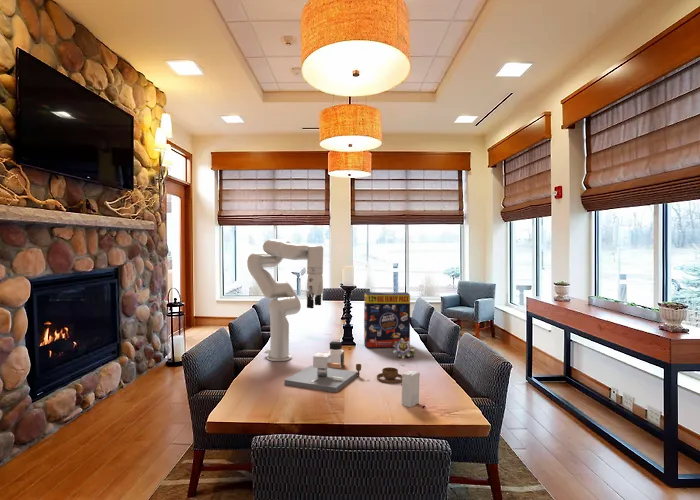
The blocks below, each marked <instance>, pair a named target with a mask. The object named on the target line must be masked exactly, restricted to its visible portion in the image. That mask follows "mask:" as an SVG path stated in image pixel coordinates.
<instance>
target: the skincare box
mask: <svg viewBox="0 0 700 500" xmlns="http://www.w3.org/2000/svg"><path fill="white" fill-rule="evenodd" d="M401 375H402V381H401V405H402V406H405V407H408V408H412V407H414V406H415V405H417V404H419V403H420V371H415V370H409V371H406V372H403V373H402V374H401Z"/></svg>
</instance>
